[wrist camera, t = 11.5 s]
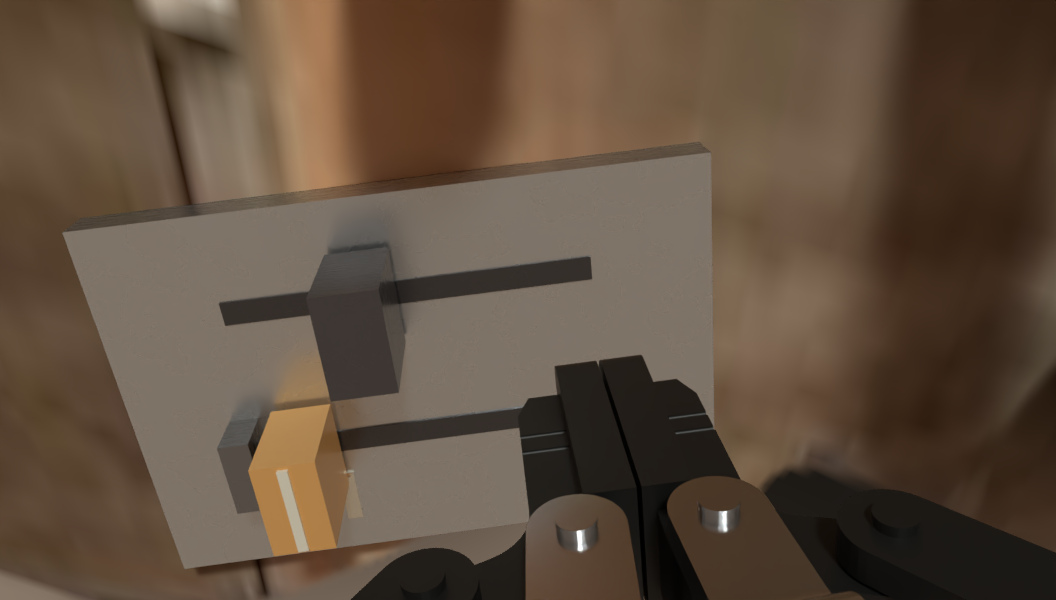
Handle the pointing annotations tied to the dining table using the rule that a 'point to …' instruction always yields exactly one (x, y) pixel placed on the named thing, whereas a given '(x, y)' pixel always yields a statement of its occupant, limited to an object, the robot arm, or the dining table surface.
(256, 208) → the console panel
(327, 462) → the fader knob
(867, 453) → the dining table surface
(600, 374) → the robot arm
